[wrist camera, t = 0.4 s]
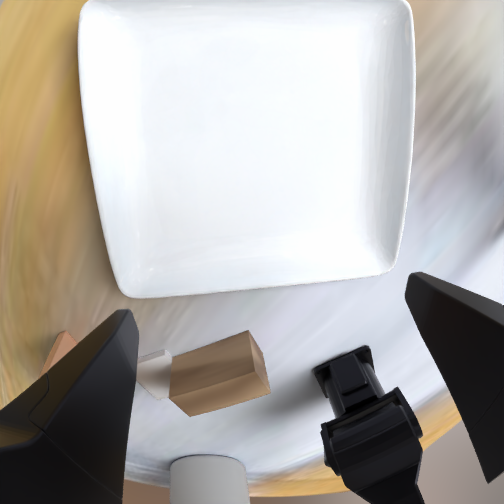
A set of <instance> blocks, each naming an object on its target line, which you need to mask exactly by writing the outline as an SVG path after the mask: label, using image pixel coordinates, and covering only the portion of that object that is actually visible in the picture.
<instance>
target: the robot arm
mask: <svg viewBox="0 0 504 504" xmlns="http://www.w3.org/2000/svg"><path fill="white" fill-rule="evenodd" d="M405 300H406V303H407V305H408V307H409V309H410V312H411V314H412V316H413V318H414V321H415V323H416V325H417V328H418V330H419V332H420V334H421V336H422V338H423V340H424V342H425V344H426V346H427V348H428V350H429V352H430V353H431V355H432V357H433V359H434V361H435V363H436V365H437V367H438V369H439V371H440V373H441V375H442V377H443V379H444V381H445V383H446V385H447V387H448V389H449V391H450V393H451V395H452V398H453V400H454V402H455V404H456V406H457V408H458V411H459V413H460V415H461V417H462V420H463V422H464V424H465V427H466V429H467V431H468V433H469V437H470V439H471V441H472V444H473V447H474V449H475V452H476V454H477V457H478V459H479V462H480V465H481V468H482V471H483V473H484V476H485V479H486V481H487V483H488V484H489V483H490V482H492V481H493V480H494V479H496V478H497V477H499V476H500V475H501V474H503V473H504V305H502V304H500V303H498V302H495V301H493V300H491V299H488V298H486V297H483V296H481V295H478V294H476V293H474V292H471V291H469V290H466V289H464V288H461V287H459V286H456V285H454V284H451V283H449V282H446V281H444V280H441V279H438V278H436V277H433V276H431V275H428V274H426V273H423V272H415V273H411V274H410V275H409V277H408V281H407V286H406V291H405ZM138 344H139V331H138V328H137V325H136V322H135V319H134V317H133V314H132V312H131V310H130V309H119V310H117V311H115V312H114V313H113V314H112V315H111V316H109V317H108V318H107V319H106V320H105V321H104V322H102V323H101V324H100V325H99V326H98V327H97V328H95V329H94V330H93V331H92V332H91V333H90V334H88V335H87V336H86V337H85V338H84V339H83V340H82V341H80V342H79V343H78V344H77V345H76V346H75V347H74V348H72V349H71V350H70V351H69V352H68V353H67V354H66V355H64V356H63V357H62V358H61V359H60V360H59V361H58V362H57V363H56V364H54V365H53V366H52V367H51V368H50V369H49V370H48V371H47V373H44V374H43V375H42V376H41V377H40V378H39V379H38V380H37V381H36V382H34V383H33V384H32V385H31V386H30V387H29V388H28V389H26V390H25V391H24V392H23V393H21V394H20V395H19V396H18V397H17V398H15V399H14V400H13V401H12V402H10V403H9V404H8V405H6V406H5V407H4V408H3V409H1V410H0V504H122V497H123V496H122V495H123V483H124V471H125V460H126V450H127V441H128V433H129V425H130V418H131V410H132V404H133V397H134V391H135V384H136V377H137V360H138ZM314 373H315V376H316V378H317V380H318V382H319V384H320V386H321V388H322V391H323V393H324V395H325V397H326V398H329V401H330V404H331V406H332V409H333V412H334V415H335V418H336V419H334V420H331V421H329V422H327V423H326V422H325V423H322V424H321V428H322V431H321V432H320V433H321V437H322V440H323V445H324V462H325V465H326V466H328V467H331V468H332V470H333V471H334V472H335V474H336V475H337V476H340V475H341V477H342V479H343V482H344V484H345V486H346V487H347V488H348V489H350V490H351V491H353V492H354V493H356V494H357V495H359V496H360V497H362V498H363V499H364V500H366V501H367V502H369V503H371V504H425V503H424V500H423V498H422V495H421V493H420V490H419V488H418V485H417V481H418V476H419V471H420V465H421V459H422V453H423V449H422V447H421V444H420V442H419V440H418V439H419V438H421V437H422V436H423V433H422V430H421V427H420V425H419V422H418V420H417V418H416V416H415V414H414V412H413V411H412V409H411V407H410V406H409V404H408V402H407V401H406V399H405V397H404V396H403V394H402V392H401V391H400V389H399V388H398V387H396V388H394V389H393V390H392V391H390V392H389V393H387V394H385V392H384V390H383V389H382V387H381V385H380V383H379V381H378V379H377V377H376V375H375V370H374V365H373V359H372V354H371V349H370V348H369V346H364V347H362V348H360V349H358V350H356V351H353V352H351V353H349V354H347V355H344V356H342V357H340V358H338V359H335V360H333V361H331V362H328V363H326V364H324V365H321V366H319V367H316V368H315V369H314Z"/></svg>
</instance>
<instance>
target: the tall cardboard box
mask: <svg viewBox="0 0 504 504" xmlns="http://www.w3.org/2000/svg"><path fill="white" fill-rule="evenodd" d="M136 380H137V381H138V382H139V383H140V384H141V385H142V386H143V387H144V388H145V389H146V390H147V391H148V392H149V393H150V394H151V395H153V396H154V397H155V398H156V399H157V400H161V399H165V398H169V399H170V400H171V401H173V402H174V403H175V404H176V405H177V406H178V407H179V408H180V409H181V410H183V411H184V412H185V413H186V414H187V415H188V416H189V417H191V416H195V415H199V414H203V413H207V412H211V411H215V410H218V409H222V408H225V407H229V406H232V405H235V404H239V403H242V402H245V401H248V400H252V399H255V398H258V397H261V396H264V395H267V394H270V393H271V392H270V387H269V382H268V377H267V372H266V367H265V363H264V358H263V353H262V351H261V350H260V348H259V347H258V345H257V343H256V342H255V340H254V338H253V337H252V335H251V334H250V332H249V330H247V331H244V332H242V333H239V334H237V335H234V336H231V337H229V338H226V339H223V340H220V341H218V342H215V343H212V344H209V345H207V346H204V347H201V348H198V349H195V350H193V351H190V352H187V353H184V354H181V355H178V356H175V357H172V356H171V355H170V354H169V353H168V352H167V351H166V350H162V351H159V352H156V353H153V354H150V355H147V356H144V357H141V358H138V360H137V377H136Z"/></svg>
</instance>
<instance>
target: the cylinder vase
mask: <svg viewBox="0 0 504 504" xmlns="http://www.w3.org/2000/svg"><path fill="white" fill-rule="evenodd" d="M170 504H250V499H249V491H248V484H247V477H246V469H245V466H244V465H243V464H242V463H241V462H239V461H238V460H235V459H233V458H229V457H224V456H217V455H196V456H189V457H184V458H181V459H178V460H176V461H175V462H173V463H172V465H171V467H170Z"/></svg>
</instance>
